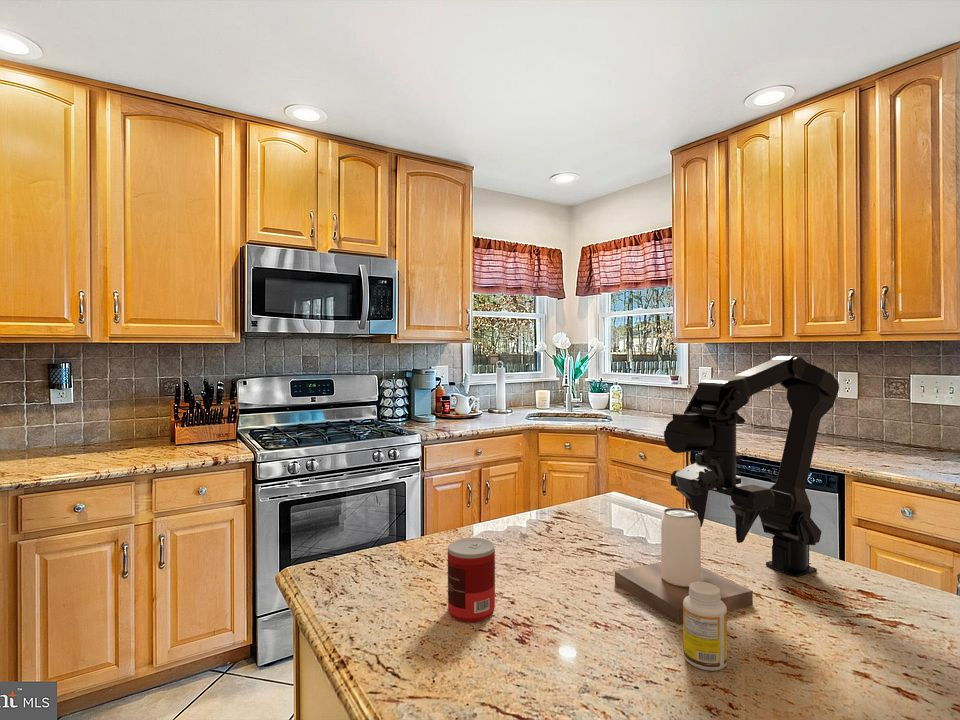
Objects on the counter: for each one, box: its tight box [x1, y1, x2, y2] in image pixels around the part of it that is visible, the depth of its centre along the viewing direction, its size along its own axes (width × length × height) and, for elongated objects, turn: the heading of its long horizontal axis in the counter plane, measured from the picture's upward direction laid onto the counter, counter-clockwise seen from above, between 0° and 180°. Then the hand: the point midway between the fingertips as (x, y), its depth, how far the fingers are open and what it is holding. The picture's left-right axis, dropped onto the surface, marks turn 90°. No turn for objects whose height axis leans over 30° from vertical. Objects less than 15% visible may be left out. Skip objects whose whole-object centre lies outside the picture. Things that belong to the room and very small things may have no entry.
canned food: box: [447, 537, 496, 624], centre depth 89 cm, size 8×8×11 cm
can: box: [660, 507, 702, 587], centre depth 95 cm, size 6×6×12 cm
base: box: [614, 561, 754, 626], centre depth 95 cm, size 16×16×2 cm
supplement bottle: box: [682, 582, 728, 672], centre depth 74 cm, size 6×6×10 cm
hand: (718, 534), depth 98 cm, fingers open, 9 cm apart
